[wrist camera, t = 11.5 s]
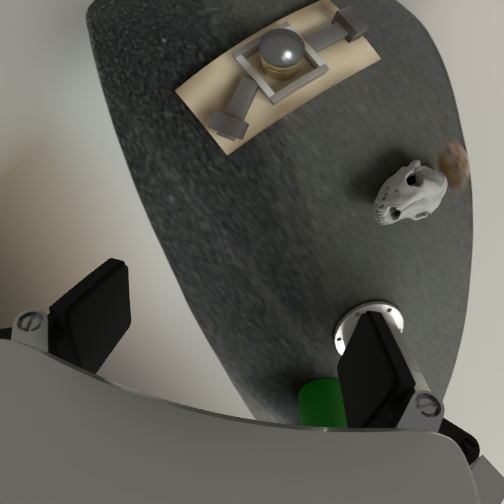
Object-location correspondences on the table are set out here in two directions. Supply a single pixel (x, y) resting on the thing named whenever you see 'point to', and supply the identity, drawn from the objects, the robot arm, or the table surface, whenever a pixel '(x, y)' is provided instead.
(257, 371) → the table surface
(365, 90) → the table surface
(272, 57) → the gold cylinder
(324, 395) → the green cylindrical cup
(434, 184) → the skull
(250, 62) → the stand
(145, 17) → the table surface
